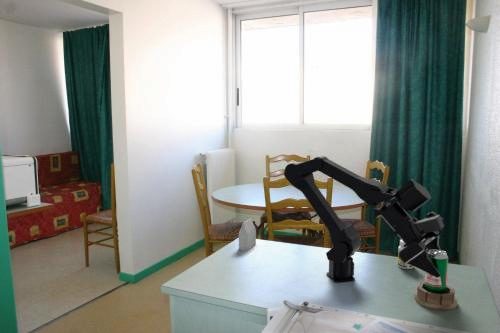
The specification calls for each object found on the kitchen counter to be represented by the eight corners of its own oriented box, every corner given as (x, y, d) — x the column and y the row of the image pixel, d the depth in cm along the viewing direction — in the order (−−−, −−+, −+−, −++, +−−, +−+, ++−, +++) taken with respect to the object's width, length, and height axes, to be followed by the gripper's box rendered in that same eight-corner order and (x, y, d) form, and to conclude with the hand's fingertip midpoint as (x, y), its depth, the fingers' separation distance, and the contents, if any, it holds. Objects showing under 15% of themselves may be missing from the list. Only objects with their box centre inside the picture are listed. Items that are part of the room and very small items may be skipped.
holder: (431, 312, 99) (432, 299, 98) (406, 294, 108) (407, 282, 108) (466, 307, 101) (467, 294, 101) (438, 290, 111) (439, 278, 110)
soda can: (420, 295, 105) (422, 251, 104) (430, 290, 108) (432, 247, 107) (439, 302, 101) (442, 256, 100) (449, 297, 104) (452, 252, 103)
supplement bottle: (411, 264, 131) (412, 238, 130) (415, 269, 126) (417, 243, 125) (395, 263, 131) (397, 238, 130) (399, 269, 126) (400, 243, 125)
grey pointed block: (255, 245, 150) (255, 218, 149) (247, 250, 144) (247, 223, 143) (247, 243, 152) (246, 217, 151) (238, 249, 146) (238, 222, 145)
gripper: (414, 210, 96) (463, 265, 91) (432, 197, 111) (475, 243, 106) (380, 236, 102) (424, 289, 97) (402, 221, 117) (441, 266, 112)
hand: (443, 270), depth 103 cm, fingers open, 9 cm apart
